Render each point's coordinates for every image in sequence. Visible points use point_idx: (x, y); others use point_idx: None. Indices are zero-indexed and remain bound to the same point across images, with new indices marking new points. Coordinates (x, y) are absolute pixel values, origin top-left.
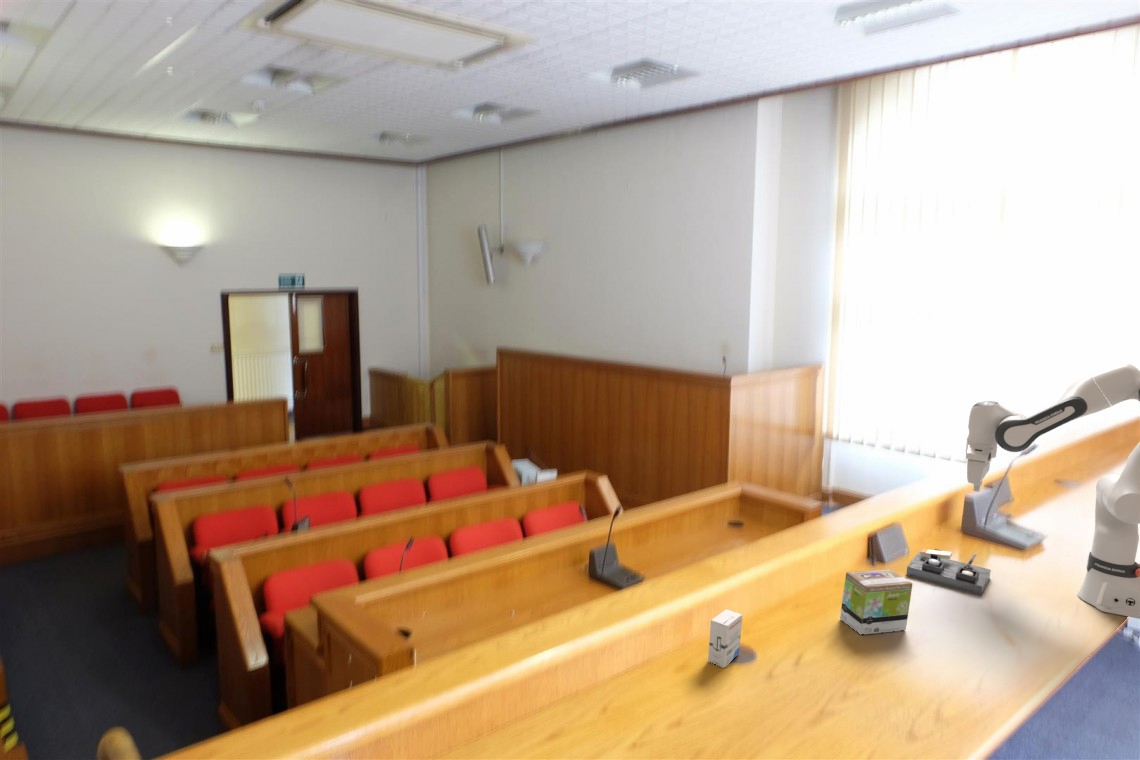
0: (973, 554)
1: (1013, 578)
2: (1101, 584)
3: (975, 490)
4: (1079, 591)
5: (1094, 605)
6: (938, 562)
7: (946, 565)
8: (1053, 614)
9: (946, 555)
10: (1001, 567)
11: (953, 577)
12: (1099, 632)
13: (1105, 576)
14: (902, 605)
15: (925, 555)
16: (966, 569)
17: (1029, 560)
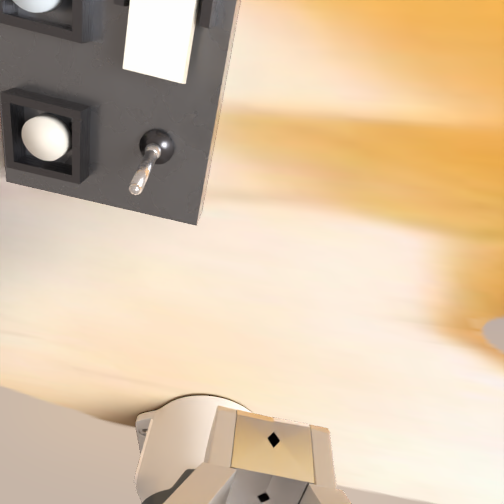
0: (134, 182)
1: (245, 277)
2: (140, 469)
3: (213, 421)
4: (207, 405)
5: (156, 411)
6: (22, 6)
7: None
8: (41, 329)
9: (124, 53)
10: (330, 257)
11: (12, 78)
12: (13, 389)
13: (143, 495)
14: None
15: None
16: (73, 138)
17: (433, 339)
